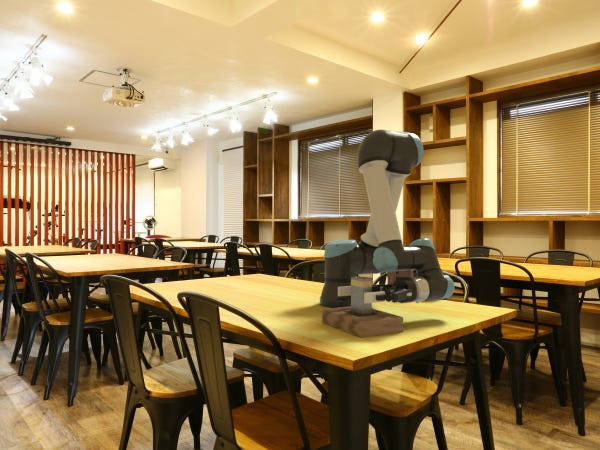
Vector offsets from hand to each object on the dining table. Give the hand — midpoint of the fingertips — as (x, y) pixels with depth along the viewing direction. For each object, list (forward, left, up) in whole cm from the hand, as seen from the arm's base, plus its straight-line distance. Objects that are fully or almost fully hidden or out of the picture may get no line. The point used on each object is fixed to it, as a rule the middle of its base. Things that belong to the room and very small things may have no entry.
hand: (350, 294), depth 129 cm
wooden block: (-24, +66, -10) cm, 71 cm away
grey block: (+1, +3, -9) cm, 10 cm away
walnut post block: (+1, +3, -9) cm, 10 cm away
